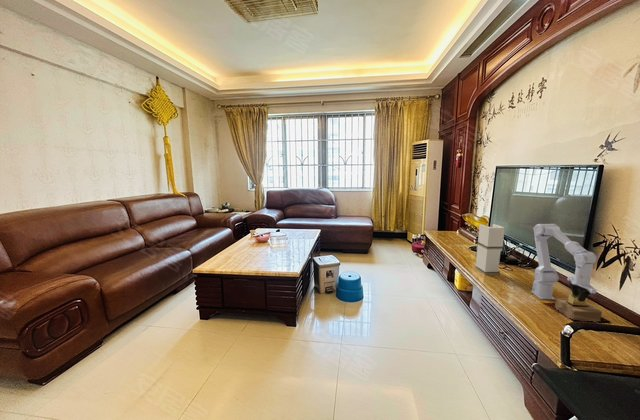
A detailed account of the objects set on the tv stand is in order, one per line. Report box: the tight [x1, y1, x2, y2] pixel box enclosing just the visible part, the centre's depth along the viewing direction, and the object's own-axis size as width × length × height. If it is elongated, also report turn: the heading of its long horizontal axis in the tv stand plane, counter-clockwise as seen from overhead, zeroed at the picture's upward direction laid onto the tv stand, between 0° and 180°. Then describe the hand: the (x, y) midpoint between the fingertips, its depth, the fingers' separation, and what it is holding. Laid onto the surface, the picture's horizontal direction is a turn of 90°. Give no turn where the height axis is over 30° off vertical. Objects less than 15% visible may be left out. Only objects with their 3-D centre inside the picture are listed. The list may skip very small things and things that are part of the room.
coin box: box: [554, 297, 603, 323], centre depth 132 cm, size 12×12×6 cm
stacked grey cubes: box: [475, 223, 506, 276], centre depth 185 cm, size 11×11×35 cm
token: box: [567, 294, 588, 306], centre depth 131 cm, size 3×6×4 cm, turn 82°
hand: (578, 299), depth 131 cm, fingers closed on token, 3 cm apart
